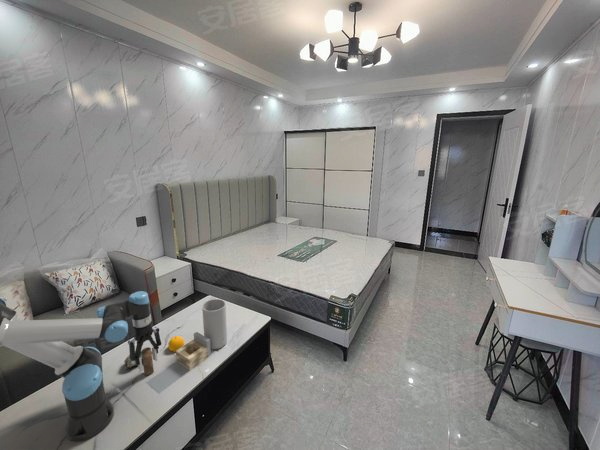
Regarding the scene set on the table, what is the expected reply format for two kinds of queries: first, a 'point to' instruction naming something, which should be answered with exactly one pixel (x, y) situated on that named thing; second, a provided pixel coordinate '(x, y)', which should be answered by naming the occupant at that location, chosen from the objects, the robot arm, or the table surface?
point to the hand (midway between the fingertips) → (148, 364)
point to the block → (191, 354)
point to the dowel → (147, 361)
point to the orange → (175, 343)
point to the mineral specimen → (131, 362)
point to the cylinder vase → (215, 322)
